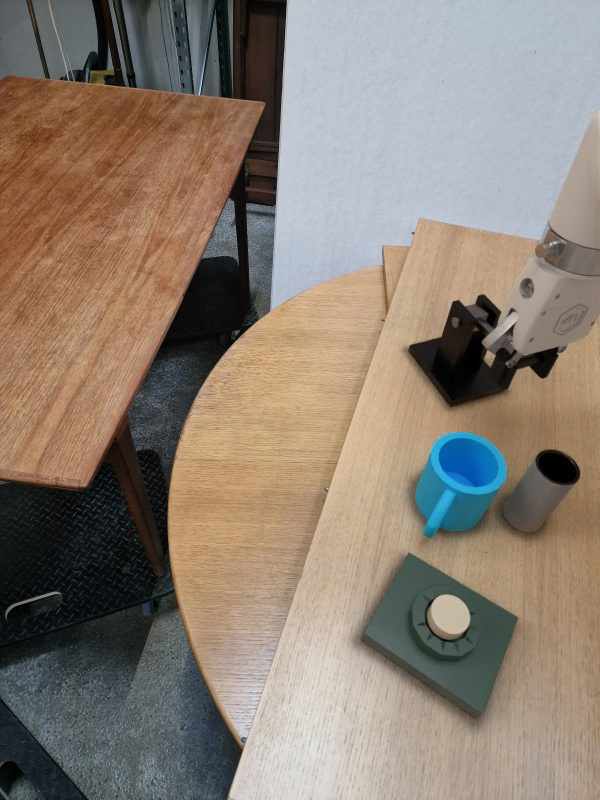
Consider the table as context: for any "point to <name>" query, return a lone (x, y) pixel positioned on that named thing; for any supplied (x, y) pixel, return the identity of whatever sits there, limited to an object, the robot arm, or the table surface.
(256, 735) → the table surface
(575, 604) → the table surface
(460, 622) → the stop button
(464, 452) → the mug
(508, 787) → the table surface
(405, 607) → the button housing
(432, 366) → the lever bracket
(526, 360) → the press lever
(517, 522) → the grey hollow cylinder
